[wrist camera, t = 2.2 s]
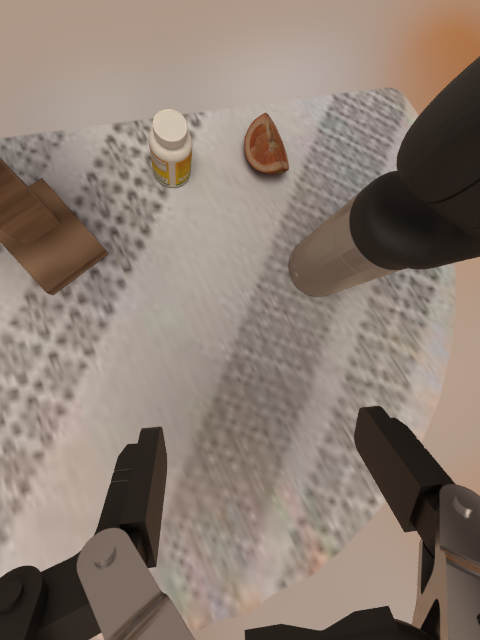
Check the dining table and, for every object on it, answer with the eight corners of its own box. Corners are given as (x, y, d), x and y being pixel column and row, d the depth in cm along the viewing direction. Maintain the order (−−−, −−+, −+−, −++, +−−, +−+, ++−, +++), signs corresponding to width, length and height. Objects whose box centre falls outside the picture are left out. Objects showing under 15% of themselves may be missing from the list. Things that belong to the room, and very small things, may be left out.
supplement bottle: (153, 187, 44) (146, 145, 35) (152, 152, 44) (145, 100, 35) (191, 189, 45) (194, 148, 36) (189, 155, 45) (192, 105, 36)
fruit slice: (290, 182, 48) (302, 163, 43) (250, 189, 47) (259, 171, 42) (275, 132, 48) (286, 108, 44) (235, 138, 47) (242, 114, 42)
